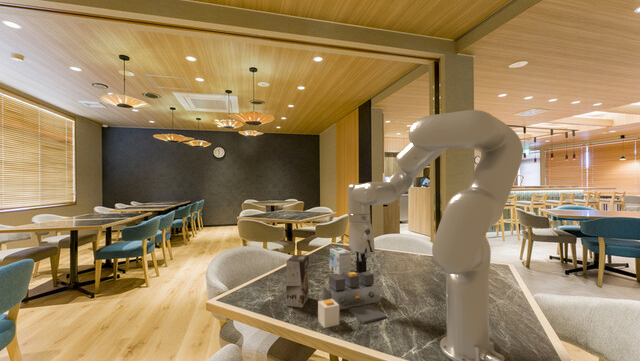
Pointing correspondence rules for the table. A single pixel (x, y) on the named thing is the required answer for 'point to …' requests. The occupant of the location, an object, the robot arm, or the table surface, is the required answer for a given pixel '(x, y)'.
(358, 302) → the breaker console
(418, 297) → the table surface
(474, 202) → the robot arm
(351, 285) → the toggle mid
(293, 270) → the coffee box
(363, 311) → the pad
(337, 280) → the toggle left
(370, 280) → the toggle right
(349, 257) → the light bulb box
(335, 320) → the cap
